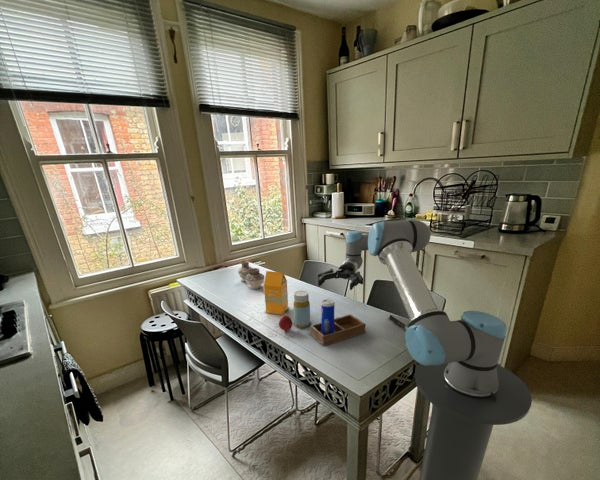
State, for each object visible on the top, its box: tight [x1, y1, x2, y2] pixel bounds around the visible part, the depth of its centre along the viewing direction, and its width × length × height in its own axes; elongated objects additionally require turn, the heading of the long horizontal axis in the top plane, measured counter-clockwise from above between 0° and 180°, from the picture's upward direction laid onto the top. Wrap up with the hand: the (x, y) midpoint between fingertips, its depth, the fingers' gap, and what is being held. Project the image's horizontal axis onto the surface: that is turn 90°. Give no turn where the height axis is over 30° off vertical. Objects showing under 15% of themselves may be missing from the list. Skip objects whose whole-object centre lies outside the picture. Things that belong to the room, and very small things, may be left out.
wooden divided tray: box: [310, 314, 366, 347], centre depth 132 cm, size 11×20×4 cm, turn 117°
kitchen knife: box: [389, 314, 408, 331], centre depth 135 cm, size 18×1×2 cm, turn 21°
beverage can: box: [320, 299, 335, 335], centre depth 128 cm, size 5×5×15 cm
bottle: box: [293, 290, 311, 328], centre depth 138 cm, size 7×7×15 cm
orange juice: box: [263, 270, 289, 316], centre depth 151 cm, size 8×9×20 cm
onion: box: [278, 313, 294, 332], centre depth 135 cm, size 6×6×8 cm
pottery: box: [237, 259, 265, 290], centre depth 188 cm, size 11×25×12 cm, turn 30°
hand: (334, 285), depth 130 cm, fingers open, 13 cm apart
